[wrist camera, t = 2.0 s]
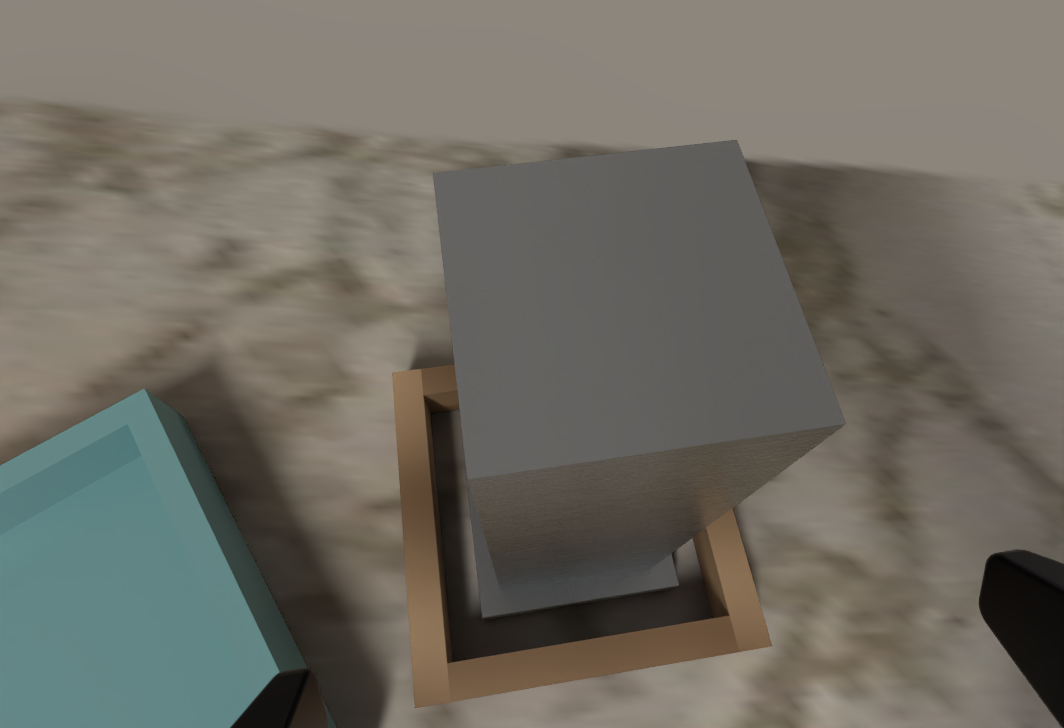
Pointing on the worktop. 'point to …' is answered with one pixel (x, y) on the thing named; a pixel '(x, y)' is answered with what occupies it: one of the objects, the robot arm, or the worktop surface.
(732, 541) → the socket
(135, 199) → the worktop surface
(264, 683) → the parts tray
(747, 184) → the plate
